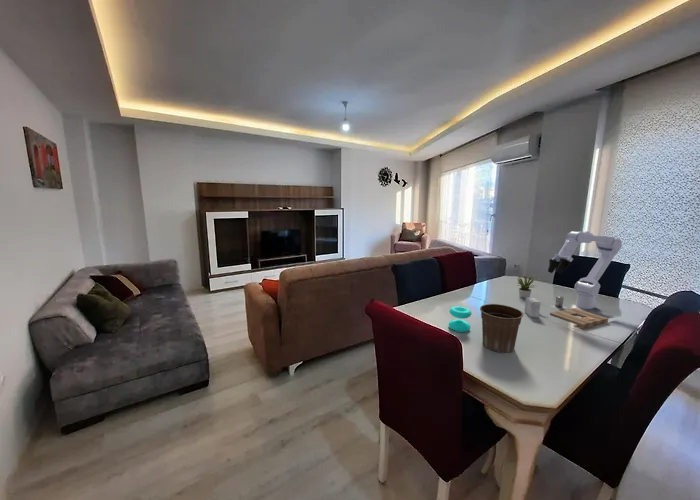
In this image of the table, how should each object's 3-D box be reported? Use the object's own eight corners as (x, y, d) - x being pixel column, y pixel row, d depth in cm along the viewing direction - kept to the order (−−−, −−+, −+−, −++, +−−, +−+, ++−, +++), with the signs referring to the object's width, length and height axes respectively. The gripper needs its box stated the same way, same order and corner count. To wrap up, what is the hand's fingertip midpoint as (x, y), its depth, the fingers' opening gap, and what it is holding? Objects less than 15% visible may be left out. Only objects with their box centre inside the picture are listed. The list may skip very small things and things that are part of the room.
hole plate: (574, 312, 162) (574, 307, 162) (607, 323, 147) (608, 318, 147) (549, 317, 155) (550, 312, 155) (582, 329, 140) (583, 323, 140)
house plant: (539, 297, 187) (542, 273, 184) (539, 304, 175) (542, 278, 173) (514, 294, 194) (516, 270, 192) (513, 299, 183) (515, 274, 180)
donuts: (476, 311, 137) (460, 314, 133) (474, 330, 138) (458, 334, 134) (460, 304, 146) (445, 307, 142) (459, 323, 147) (444, 326, 143)
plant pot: (500, 359, 113) (504, 320, 110) (468, 341, 128) (471, 306, 125) (528, 351, 119) (532, 314, 117) (495, 335, 134) (498, 301, 131)
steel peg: (557, 305, 168) (558, 295, 167) (563, 307, 165) (565, 297, 164) (553, 306, 167) (554, 296, 166) (559, 308, 164) (561, 298, 163)
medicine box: (539, 317, 154) (540, 302, 153) (529, 317, 155) (531, 301, 154) (532, 312, 162) (534, 297, 160) (524, 311, 163) (525, 297, 161)
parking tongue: (557, 306, 170) (558, 304, 170) (568, 310, 165) (568, 307, 165) (548, 308, 168) (548, 306, 167) (559, 312, 162) (559, 309, 162)
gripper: (552, 248, 164) (539, 268, 164) (569, 246, 150) (555, 268, 150) (563, 254, 163) (551, 274, 163) (581, 253, 149) (567, 275, 149)
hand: (553, 272), depth 157 cm, fingers open, 7 cm apart
